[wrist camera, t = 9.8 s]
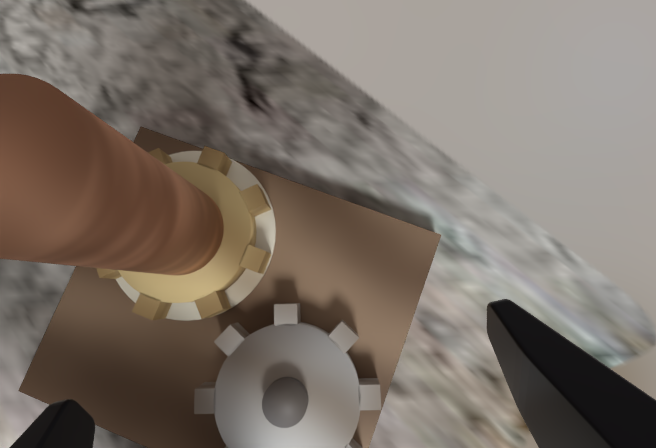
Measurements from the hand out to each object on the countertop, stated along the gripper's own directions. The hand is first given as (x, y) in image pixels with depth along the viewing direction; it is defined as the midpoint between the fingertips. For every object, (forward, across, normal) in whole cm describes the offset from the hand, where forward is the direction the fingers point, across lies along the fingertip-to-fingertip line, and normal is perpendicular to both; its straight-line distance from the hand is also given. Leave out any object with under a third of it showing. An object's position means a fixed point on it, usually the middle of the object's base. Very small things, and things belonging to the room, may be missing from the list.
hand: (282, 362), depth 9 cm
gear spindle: (+13, +6, +4) cm, 15 cm away
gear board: (+11, +5, +9) cm, 15 cm away
